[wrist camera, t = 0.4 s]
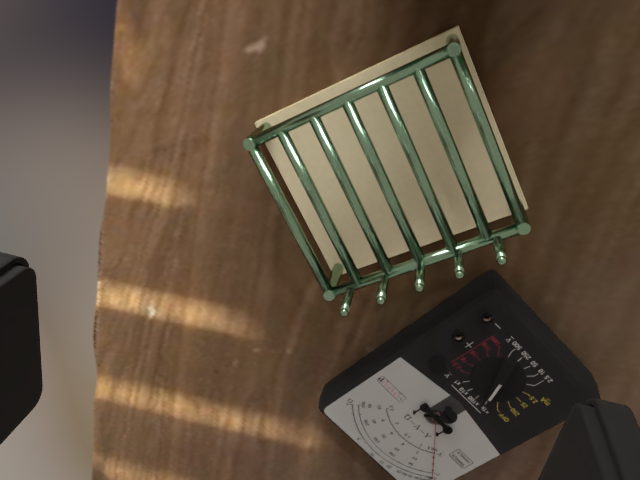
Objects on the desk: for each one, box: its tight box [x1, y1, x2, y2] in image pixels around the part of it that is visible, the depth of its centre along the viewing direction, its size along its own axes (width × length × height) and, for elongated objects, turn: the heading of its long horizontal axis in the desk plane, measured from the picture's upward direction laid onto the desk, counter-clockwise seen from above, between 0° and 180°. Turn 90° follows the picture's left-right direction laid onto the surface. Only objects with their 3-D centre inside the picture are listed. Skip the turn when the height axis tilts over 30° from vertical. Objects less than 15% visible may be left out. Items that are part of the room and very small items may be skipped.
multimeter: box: [319, 270, 600, 480], centre depth 50 cm, size 13×19×5 cm
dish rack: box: [243, 25, 531, 316], centre depth 41 cm, size 14×16×9 cm
